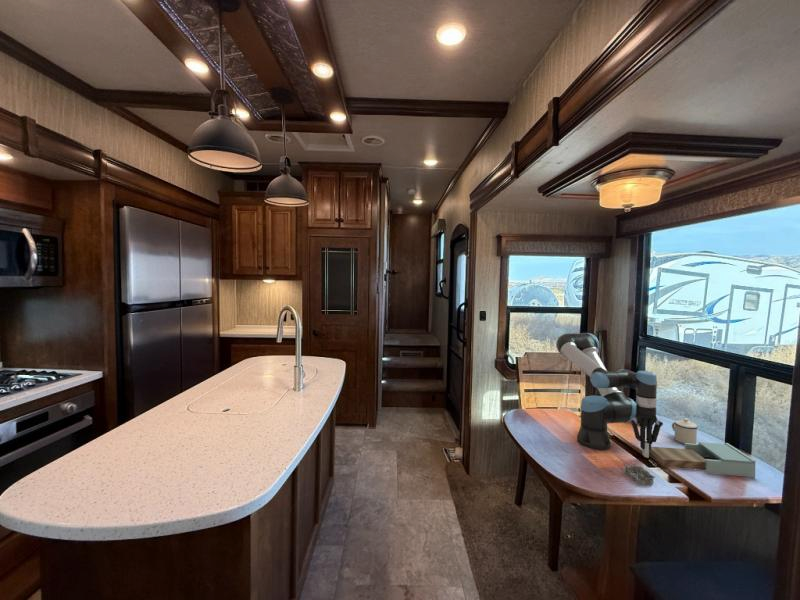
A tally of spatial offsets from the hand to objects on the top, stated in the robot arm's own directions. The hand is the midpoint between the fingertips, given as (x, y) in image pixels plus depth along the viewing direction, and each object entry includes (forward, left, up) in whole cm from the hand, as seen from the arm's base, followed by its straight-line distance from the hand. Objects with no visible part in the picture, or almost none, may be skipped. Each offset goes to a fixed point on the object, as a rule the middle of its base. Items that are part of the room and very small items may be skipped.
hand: (645, 455), depth 157 cm
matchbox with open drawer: (+28, 0, -2) cm, 28 cm away
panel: (+13, 0, -2) cm, 13 cm away
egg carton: (-10, -18, -2) cm, 20 cm away
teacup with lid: (+28, +25, -2) cm, 38 cm away
